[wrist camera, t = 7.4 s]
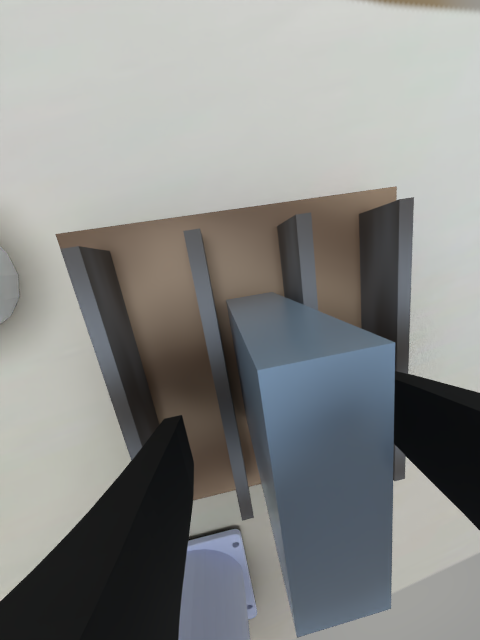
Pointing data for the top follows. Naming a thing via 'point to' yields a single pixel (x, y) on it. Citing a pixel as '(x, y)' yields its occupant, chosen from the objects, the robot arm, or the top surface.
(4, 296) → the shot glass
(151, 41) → the top surface
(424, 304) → the top surface
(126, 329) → the rack
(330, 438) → the block
